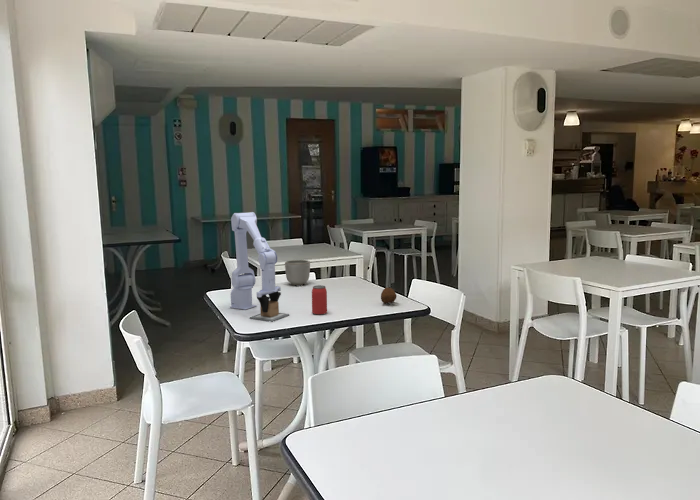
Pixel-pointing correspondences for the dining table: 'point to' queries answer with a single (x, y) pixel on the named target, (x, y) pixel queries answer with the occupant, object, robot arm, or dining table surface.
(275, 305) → the walnut block
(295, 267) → the planter
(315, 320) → the dining table surface
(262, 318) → the slate coaster
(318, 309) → the beer can
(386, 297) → the potato
